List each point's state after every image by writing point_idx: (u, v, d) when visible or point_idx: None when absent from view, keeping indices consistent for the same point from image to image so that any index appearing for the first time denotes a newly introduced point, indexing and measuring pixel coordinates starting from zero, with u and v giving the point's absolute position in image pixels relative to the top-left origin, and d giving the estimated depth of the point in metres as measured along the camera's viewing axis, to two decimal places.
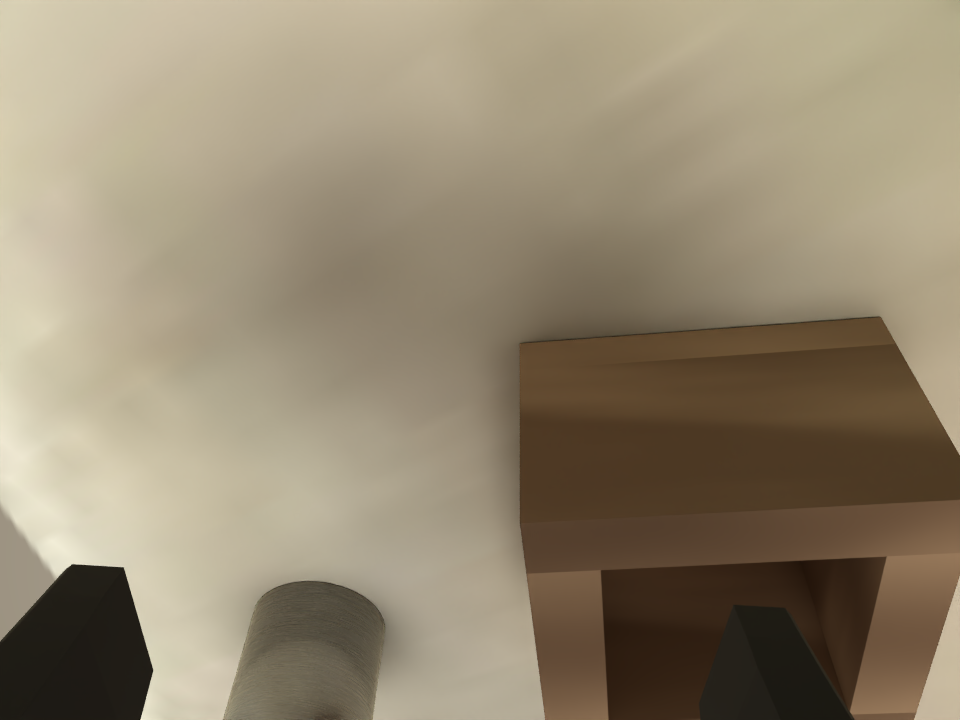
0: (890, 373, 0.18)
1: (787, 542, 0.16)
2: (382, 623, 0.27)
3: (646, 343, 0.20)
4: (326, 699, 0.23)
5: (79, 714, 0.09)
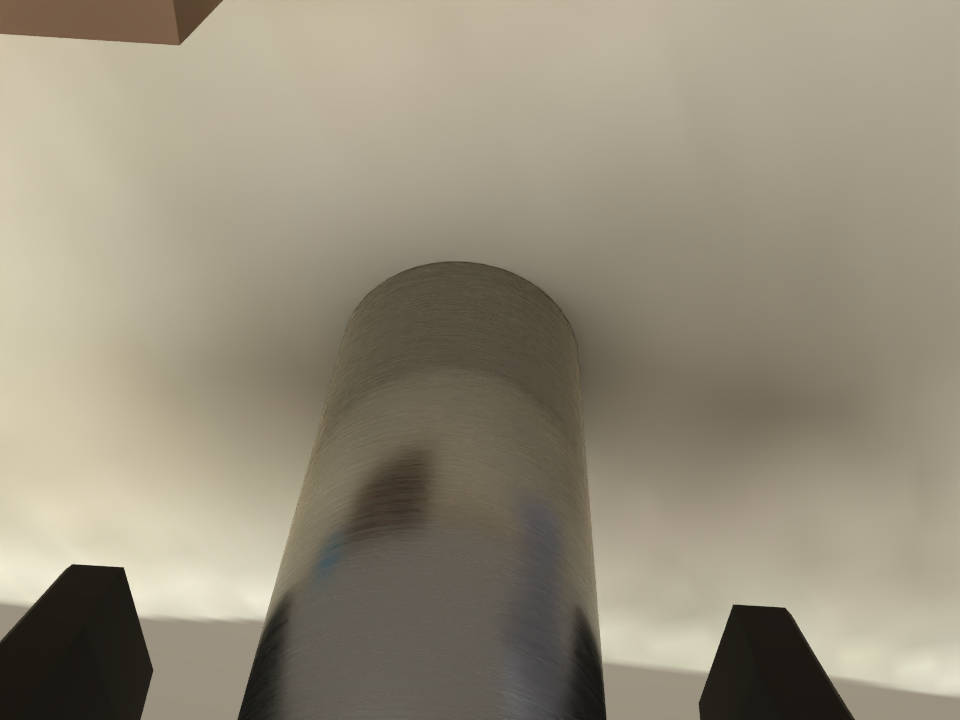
0: None
1: None
2: (457, 267, 0.14)
3: None
4: (325, 448, 0.12)
5: (79, 714, 0.09)
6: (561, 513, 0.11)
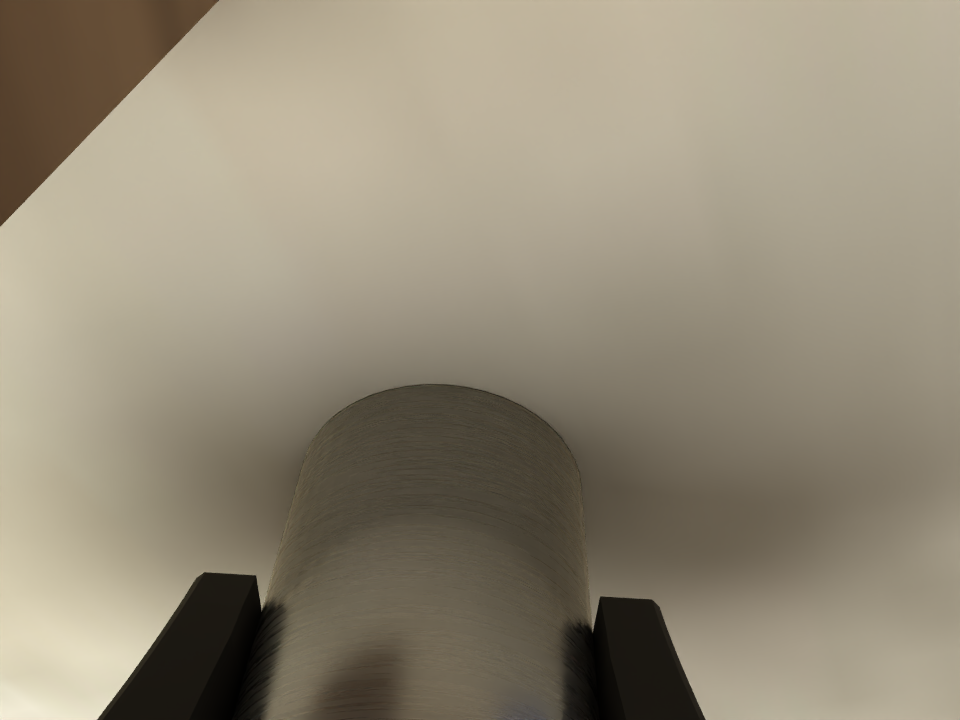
0: None
1: None
2: (436, 392, 0.11)
3: None
4: (265, 652, 0.09)
5: None
6: None
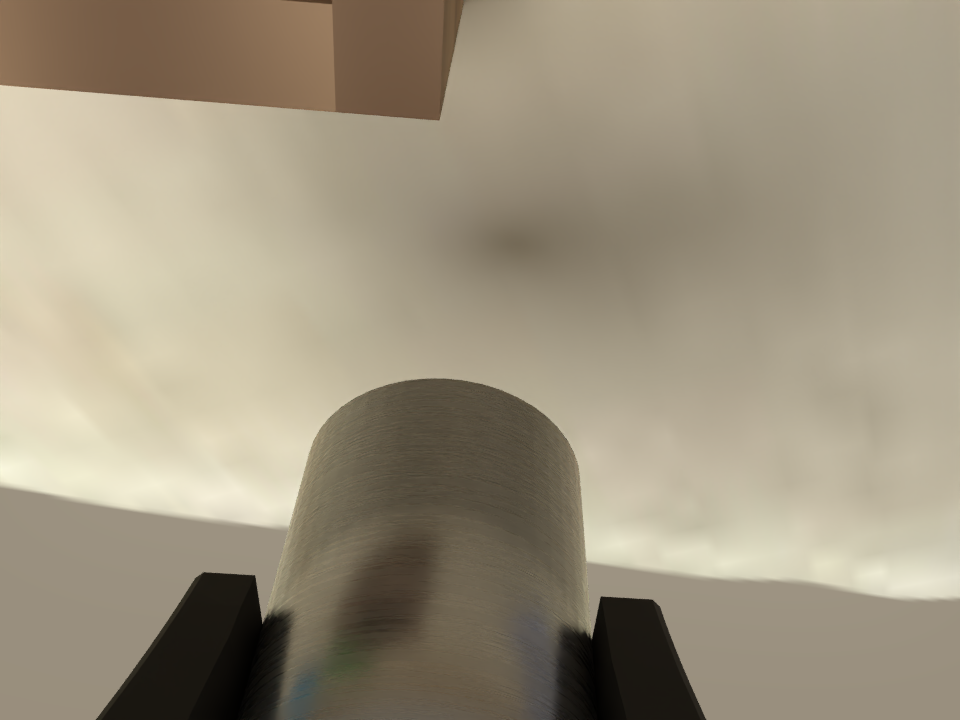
0: None
1: None
2: (435, 386, 0.12)
3: None
4: (272, 638, 0.10)
5: None
6: None
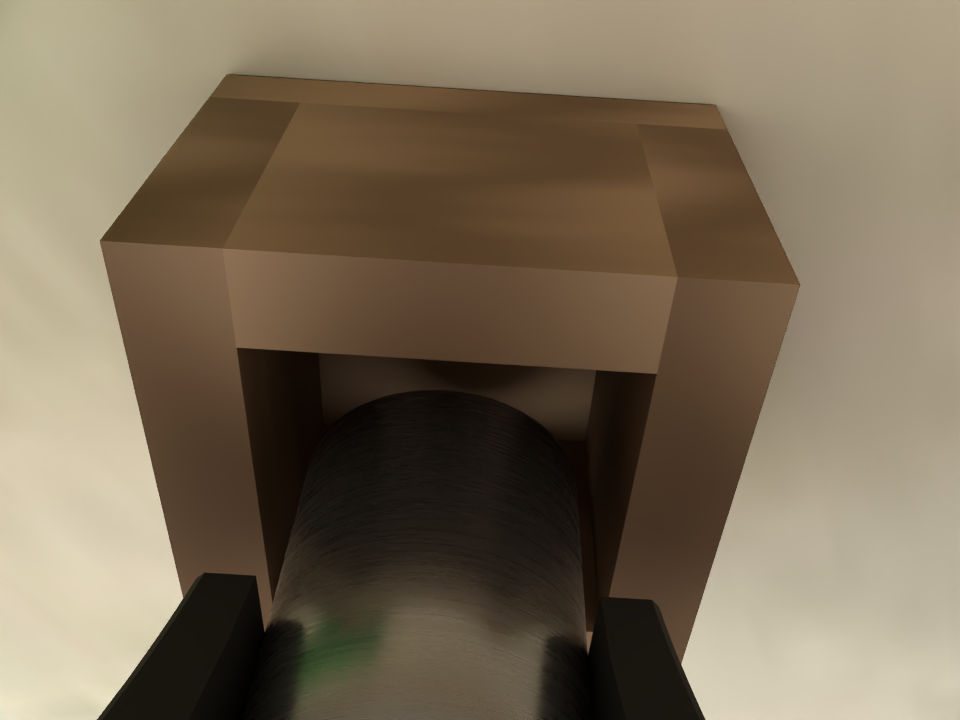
0: None
1: (212, 453, 0.12)
2: (423, 397, 0.12)
3: None
4: (267, 657, 0.10)
5: None
6: None
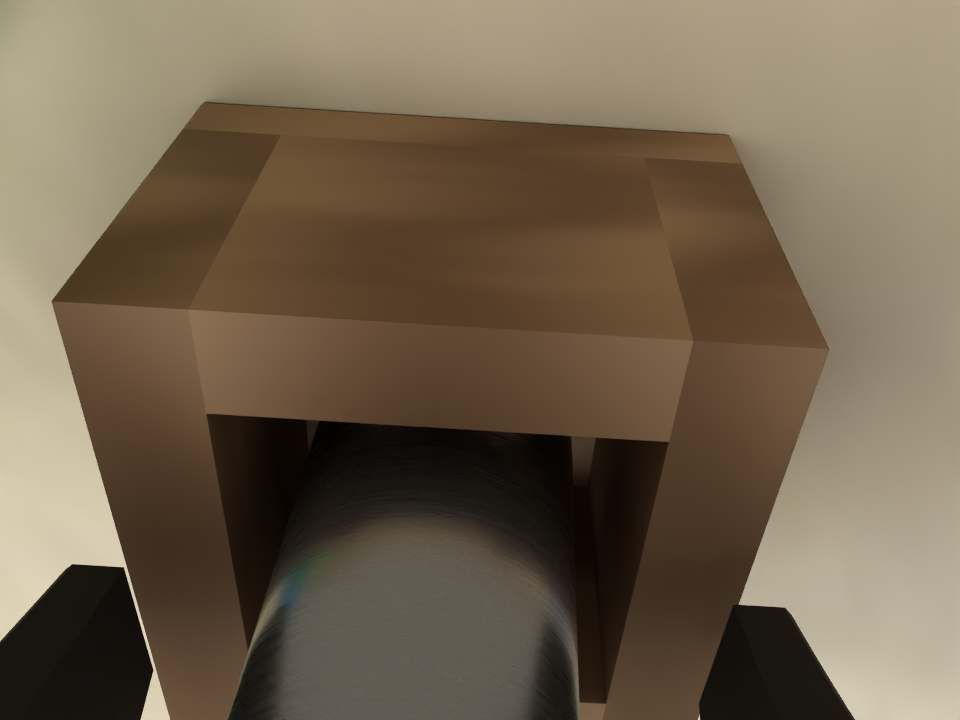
0: None
1: (183, 522, 0.11)
2: None
3: None
4: (305, 484, 0.12)
5: (79, 714, 0.09)
6: (532, 539, 0.11)
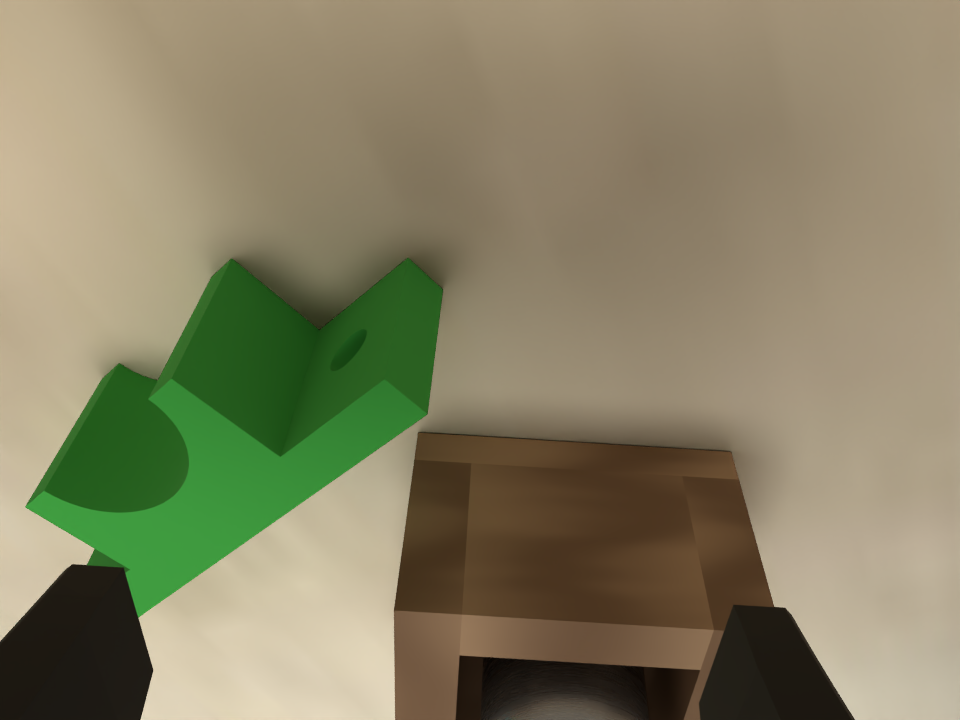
0: None
1: (433, 701, 0.20)
2: None
3: None
4: (496, 672, 0.21)
5: (79, 714, 0.09)
6: (630, 710, 0.20)
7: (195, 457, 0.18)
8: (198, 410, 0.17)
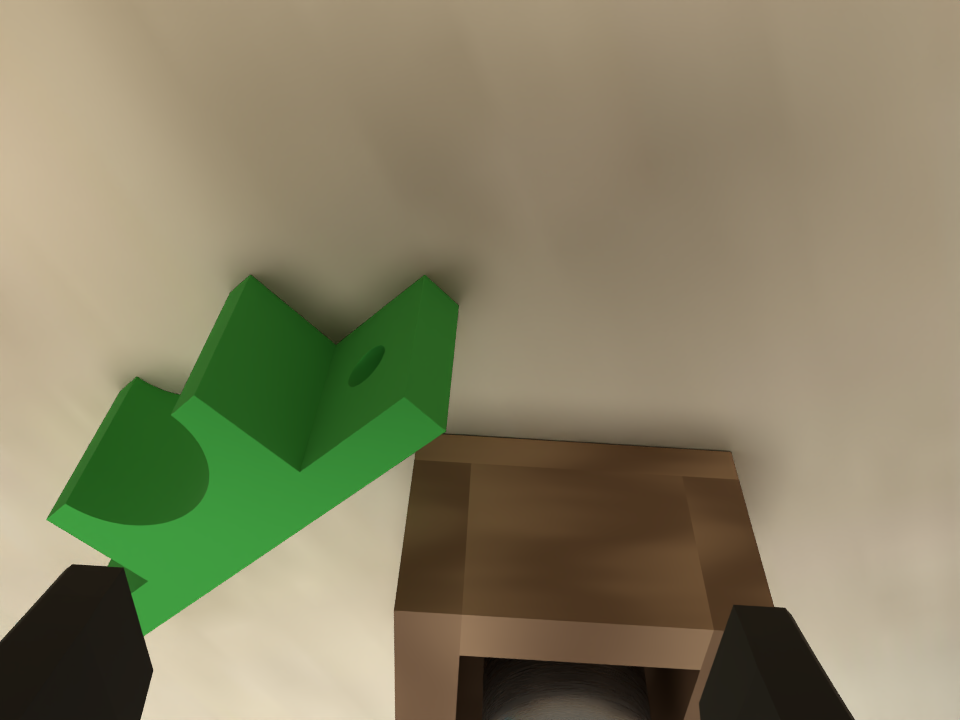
0: None
1: (433, 702, 0.20)
2: None
3: None
4: (497, 671, 0.21)
5: (79, 714, 0.09)
6: (631, 706, 0.20)
7: (215, 472, 0.18)
8: (219, 426, 0.17)
